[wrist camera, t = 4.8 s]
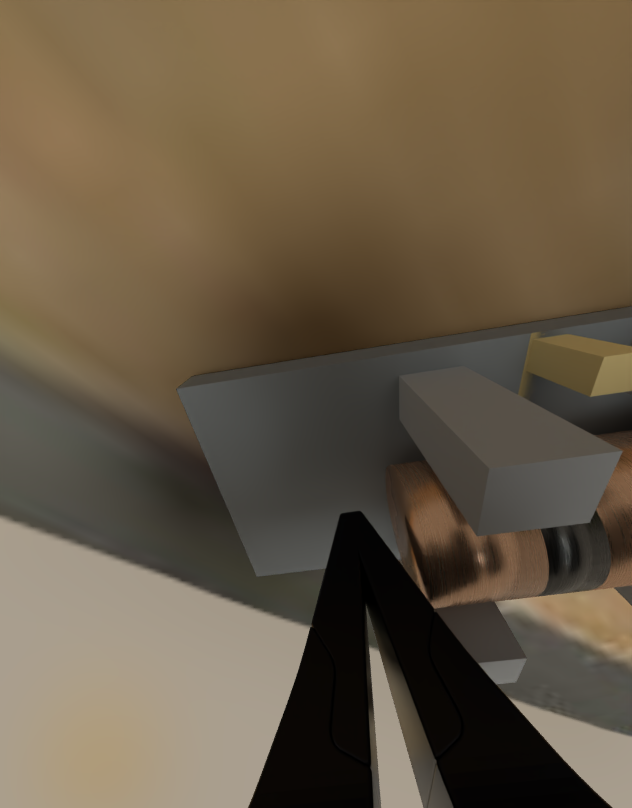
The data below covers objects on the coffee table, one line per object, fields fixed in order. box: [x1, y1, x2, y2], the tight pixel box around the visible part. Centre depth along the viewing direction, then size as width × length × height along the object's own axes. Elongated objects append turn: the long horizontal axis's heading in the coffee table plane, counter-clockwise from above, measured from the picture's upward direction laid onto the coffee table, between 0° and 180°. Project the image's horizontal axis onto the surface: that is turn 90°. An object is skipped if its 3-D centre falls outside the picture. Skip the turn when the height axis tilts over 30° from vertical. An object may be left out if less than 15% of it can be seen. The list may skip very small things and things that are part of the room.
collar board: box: [176, 306, 632, 684], centre depth 8 cm, size 20×10×6 cm, turn 99°
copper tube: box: [385, 430, 632, 608], centre depth 8 cm, size 12×4×4 cm, turn 100°
